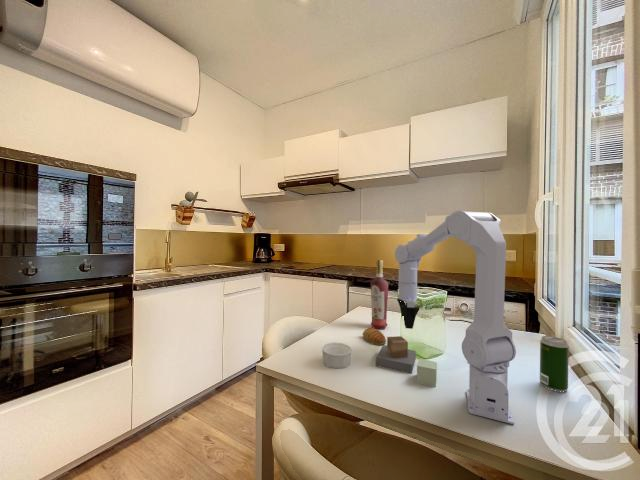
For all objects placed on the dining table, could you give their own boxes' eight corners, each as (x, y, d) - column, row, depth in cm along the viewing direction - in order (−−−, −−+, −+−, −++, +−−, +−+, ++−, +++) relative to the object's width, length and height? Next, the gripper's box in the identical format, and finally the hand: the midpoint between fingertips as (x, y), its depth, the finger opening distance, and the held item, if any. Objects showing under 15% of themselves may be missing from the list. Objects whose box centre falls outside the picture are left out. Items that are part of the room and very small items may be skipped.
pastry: (390, 344, 94) (391, 334, 94) (374, 347, 92) (374, 336, 92) (375, 335, 103) (375, 325, 103) (360, 338, 100) (360, 328, 100)
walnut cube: (407, 357, 78) (407, 341, 78) (392, 358, 78) (393, 342, 78) (401, 350, 83) (401, 336, 83) (387, 351, 82) (387, 336, 82)
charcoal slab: (411, 375, 74) (411, 364, 74) (375, 367, 78) (375, 357, 78) (415, 360, 83) (415, 350, 83) (383, 354, 87) (383, 345, 87)
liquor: (391, 327, 112) (392, 260, 112) (382, 331, 107) (382, 261, 106) (376, 323, 117) (376, 259, 117) (366, 327, 112) (367, 260, 111)
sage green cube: (435, 387, 67) (436, 369, 67) (416, 383, 69) (417, 365, 69) (436, 378, 71) (436, 362, 71) (418, 374, 73) (418, 358, 73)
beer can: (556, 394, 64) (557, 344, 64) (534, 382, 70) (534, 336, 70) (573, 391, 66) (574, 342, 66) (550, 380, 71) (551, 334, 71)
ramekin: (357, 362, 80) (357, 348, 80) (339, 373, 74) (339, 357, 74) (334, 353, 86) (335, 340, 86) (315, 362, 80) (315, 348, 80)
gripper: (425, 286, 79) (424, 332, 79) (416, 279, 93) (416, 318, 93) (400, 285, 80) (399, 331, 80) (395, 278, 94) (395, 317, 94)
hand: (407, 324), depth 87 cm, fingers open, 7 cm apart
